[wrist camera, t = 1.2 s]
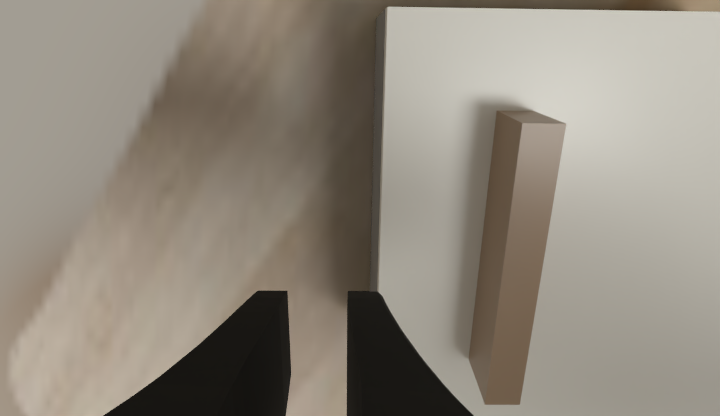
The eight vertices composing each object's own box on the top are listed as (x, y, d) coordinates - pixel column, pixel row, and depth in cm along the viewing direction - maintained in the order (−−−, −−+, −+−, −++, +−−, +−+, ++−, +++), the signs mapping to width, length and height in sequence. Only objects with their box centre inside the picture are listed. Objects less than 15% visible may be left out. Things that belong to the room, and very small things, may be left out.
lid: (833, 15, 12) (963, 9, 10) (703, 402, 17) (768, 470, 14) (385, 8, 12) (393, -1, 10) (373, 402, 17) (377, 470, 14)
